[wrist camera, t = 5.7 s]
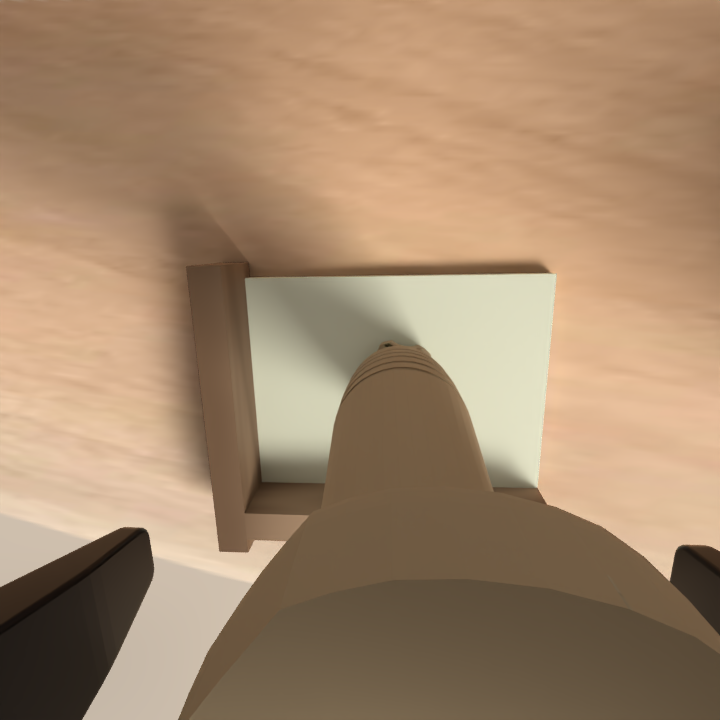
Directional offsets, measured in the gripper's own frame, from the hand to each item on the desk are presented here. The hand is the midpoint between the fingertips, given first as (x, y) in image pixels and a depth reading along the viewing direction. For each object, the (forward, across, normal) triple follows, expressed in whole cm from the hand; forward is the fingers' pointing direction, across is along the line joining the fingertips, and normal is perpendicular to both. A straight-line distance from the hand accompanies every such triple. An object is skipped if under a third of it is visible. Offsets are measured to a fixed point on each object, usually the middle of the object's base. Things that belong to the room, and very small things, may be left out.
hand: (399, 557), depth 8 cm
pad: (+12, 0, 0) cm, 12 cm away
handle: (+11, 0, 0) cm, 11 cm away
